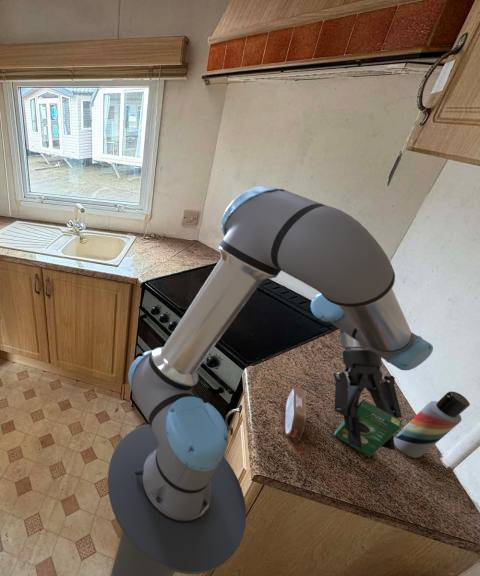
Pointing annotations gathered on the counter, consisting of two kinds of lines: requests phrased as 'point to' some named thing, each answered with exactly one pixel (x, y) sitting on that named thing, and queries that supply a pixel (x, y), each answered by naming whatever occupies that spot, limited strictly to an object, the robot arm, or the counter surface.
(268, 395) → the counter surface
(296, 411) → the tin
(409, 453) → the lotion bottle
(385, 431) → the coffee box
